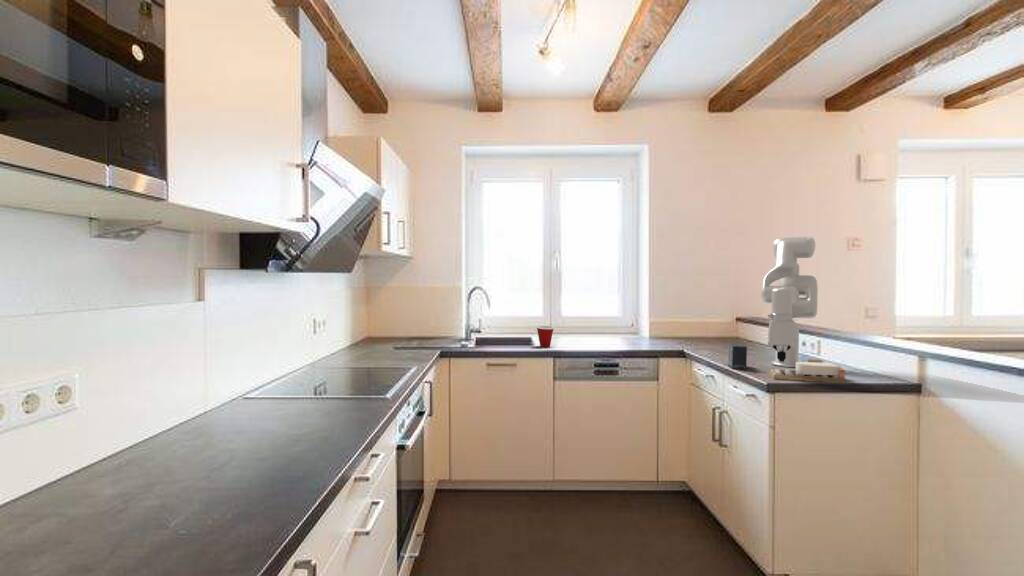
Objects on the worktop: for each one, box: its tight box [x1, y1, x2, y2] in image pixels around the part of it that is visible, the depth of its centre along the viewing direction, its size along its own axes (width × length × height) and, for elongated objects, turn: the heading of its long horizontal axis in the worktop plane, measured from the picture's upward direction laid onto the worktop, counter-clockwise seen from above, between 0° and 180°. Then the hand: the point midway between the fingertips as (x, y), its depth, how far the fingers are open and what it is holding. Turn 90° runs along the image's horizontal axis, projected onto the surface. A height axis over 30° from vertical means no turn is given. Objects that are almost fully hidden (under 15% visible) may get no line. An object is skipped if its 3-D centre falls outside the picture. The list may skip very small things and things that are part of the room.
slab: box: [795, 361, 839, 375], centre depth 210 cm, size 8×13×4 cm, turn 78°
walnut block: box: [806, 358, 824, 363], centre depth 218 cm, size 5×5×6 cm
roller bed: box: [769, 364, 846, 384], centre depth 211 cm, size 12×25×5 cm, turn 69°
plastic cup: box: [535, 324, 555, 348], centre depth 303 cm, size 11×11×12 cm
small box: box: [727, 342, 748, 370], centre depth 235 cm, size 11×6×10 cm, turn 168°
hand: (781, 360), depth 216 cm, fingers closed
